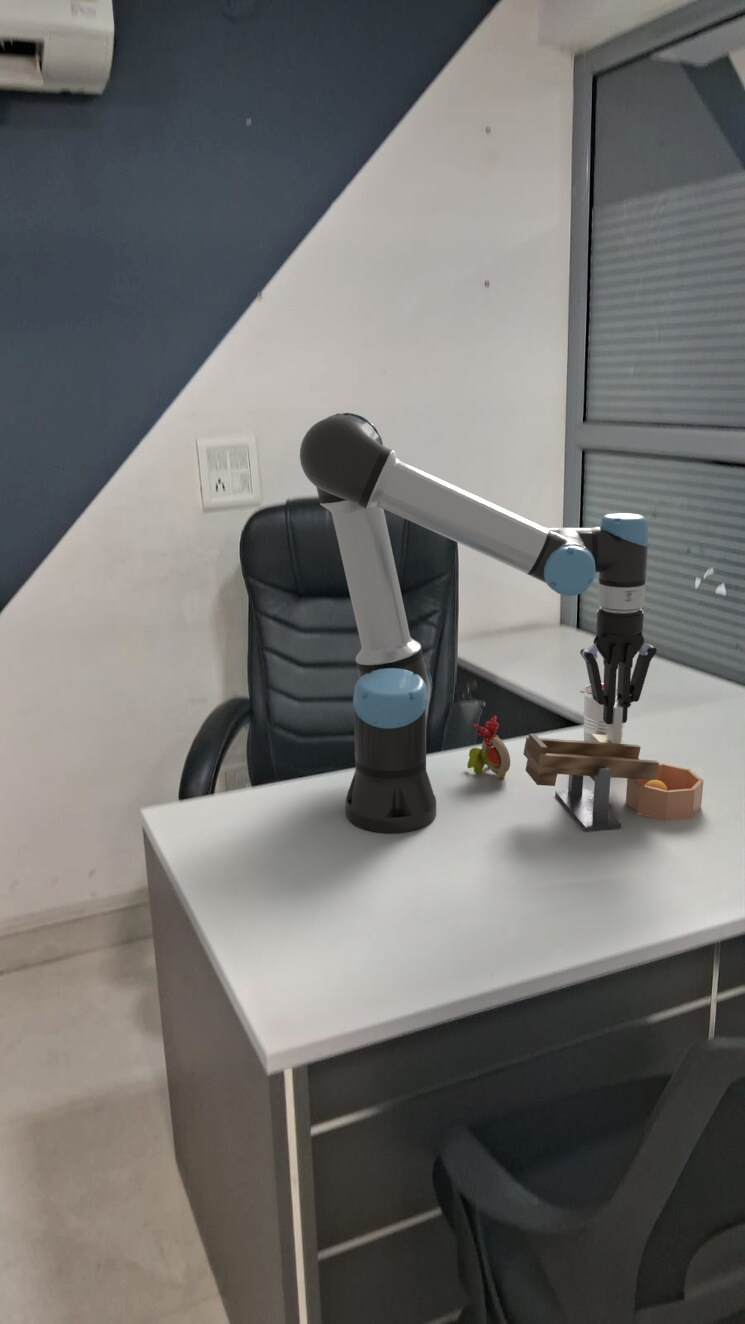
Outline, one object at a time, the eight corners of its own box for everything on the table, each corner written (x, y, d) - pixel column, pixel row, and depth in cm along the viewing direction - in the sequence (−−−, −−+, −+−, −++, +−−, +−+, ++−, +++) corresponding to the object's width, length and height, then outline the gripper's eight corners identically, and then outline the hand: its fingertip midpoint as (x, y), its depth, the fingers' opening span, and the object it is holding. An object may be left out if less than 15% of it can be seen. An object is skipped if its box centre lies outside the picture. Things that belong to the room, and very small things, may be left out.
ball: (670, 777, 165) (672, 798, 167) (647, 774, 168) (649, 795, 169) (661, 788, 162) (663, 809, 164) (638, 785, 165) (640, 806, 166)
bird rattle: (513, 783, 181) (483, 751, 186) (532, 739, 174) (500, 707, 180) (487, 792, 177) (458, 759, 183) (506, 747, 171) (474, 714, 176)
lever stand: (585, 831, 158) (588, 773, 155) (555, 795, 171) (557, 741, 168) (621, 828, 158) (625, 770, 156) (588, 792, 172) (591, 738, 169)
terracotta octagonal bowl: (618, 808, 165) (620, 781, 164) (642, 785, 174) (644, 759, 173) (685, 825, 159) (687, 797, 158) (707, 800, 168) (709, 773, 167)
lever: (537, 788, 157) (544, 750, 155) (506, 750, 172) (512, 715, 170) (653, 795, 161) (661, 758, 159) (612, 757, 176) (620, 723, 174)
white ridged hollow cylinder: (634, 747, 192) (638, 688, 188) (620, 761, 185) (624, 701, 181) (585, 737, 197) (588, 680, 193) (569, 751, 190) (572, 692, 186)
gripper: (591, 615, 160) (586, 751, 167) (667, 610, 162) (658, 745, 169) (575, 605, 167) (570, 735, 174) (647, 600, 169) (640, 729, 176)
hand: (613, 740), depth 171 cm, fingers closed
